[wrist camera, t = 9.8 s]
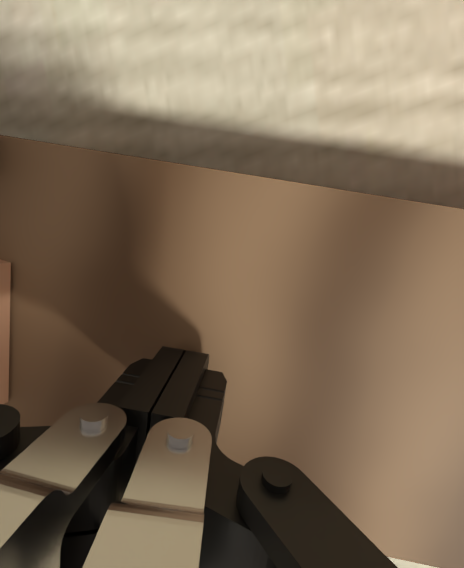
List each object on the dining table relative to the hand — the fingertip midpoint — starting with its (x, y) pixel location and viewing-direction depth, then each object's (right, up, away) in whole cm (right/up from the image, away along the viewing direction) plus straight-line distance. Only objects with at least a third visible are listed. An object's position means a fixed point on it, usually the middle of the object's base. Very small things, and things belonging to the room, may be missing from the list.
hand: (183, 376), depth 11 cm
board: (+5, 0, +2) cm, 6 cm away
